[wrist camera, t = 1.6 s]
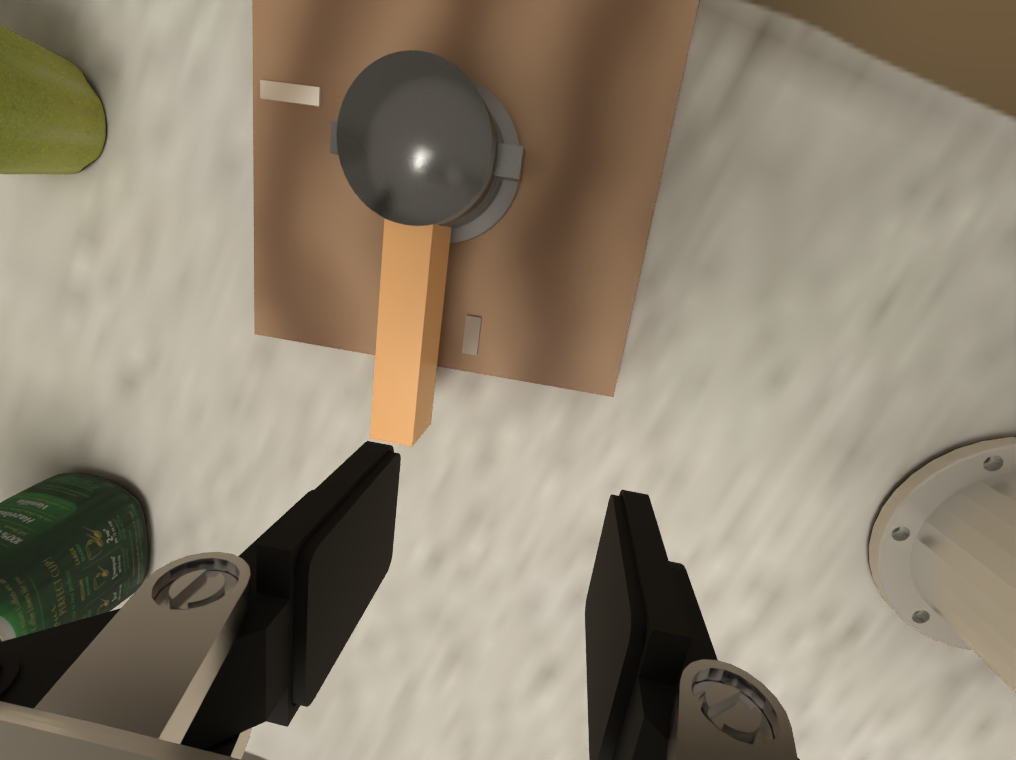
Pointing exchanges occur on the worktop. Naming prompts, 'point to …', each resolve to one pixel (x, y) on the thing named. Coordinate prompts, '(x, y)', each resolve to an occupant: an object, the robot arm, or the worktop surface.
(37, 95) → the plant pot
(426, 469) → the worktop surface
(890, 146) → the worktop surface
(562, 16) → the wooden cutting board
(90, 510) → the coffee jar
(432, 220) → the portafilter
